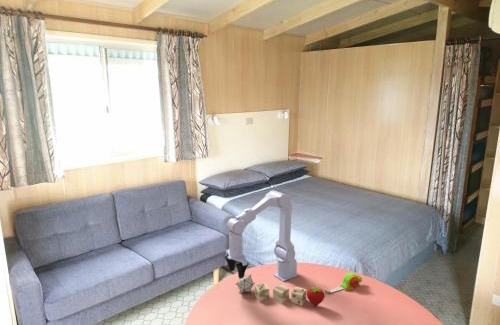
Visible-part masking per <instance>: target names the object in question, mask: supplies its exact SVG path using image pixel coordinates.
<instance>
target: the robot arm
mask: <svg viewBox="0 0 500 325" xmlns="http://www.w3.org/2000/svg"><path fill="white" fill-rule="evenodd" d="M292 206H293V205H292V202H291V196H289V195H288V194H287V193H282V192H280V191H277V190H275V189H272V190H269V192H267V193H266V194H265V195H264V197H263V198H262V199H261V200H260V201H259V202H258V203H256V204H255V205H254V206H253V207H251V208H245V209H243V211H242V212H241V213H240V214H238V215H236V216H235V217H234V218H232V217H231V218H230V219H229V220H228V221H227V223H226V225H225V226H226V229H227V231H228V237H229V238H228V241H229V243H228V244H229V245H228V246H229V247H228V249H225V254H226V255H225V256H224V259H225V261H226V263H227V265H228V270H229V272H230V273H231V272H234V271H235V270H236V269H237V274H238V278H240V279H241V278H244V275H245V274H246V271H247V270H246V269H247V268H248V267H249V262H248V260H247V259H246V257H245V255H244V252H243V251H244V250H243V232H245V229H246V228H247V226H249V224H251V223H252V222H253V221H255V220H256V218H257V215H258V214H261V212H263V211H264V210H266V209H267V208H270V207H274V208H278V209H279V226H278V227H279V231H278V240H277V241H275V246H274V249H273V253H274V255H275V256H276V259H277V260H276V264H277V267H276V272H275V273H273V276H275V277H276V278H278V279H280V281H282V282H285V281H288V280H290V279H293V278H295V277H298V275H299V274H298V273H297V271H298V270H297V269H298V268H297V266H298V265H297V263H298V262H297V259H296V258H295V257H296V252H295V245H294V244H293V243H292V241H291V235H292V234H291V233H292V230H291V229H292ZM236 261H237V262H238V263H236Z"/></svg>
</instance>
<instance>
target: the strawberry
mask: <svg viewBox="0 0 500 325" xmlns="http://www.w3.org/2000/svg"><path fill="white" fill-rule="evenodd" d="M325 297H326V296H325V291H323V290H322V289H321V288H319V286H318V287H316V285H314V286H313V287H309V289H308V290H306V299H307V300H308V302H310V303H311V305H312V306H313V307H317V306H319V305H320V304H321V303H323V301H324V299H325Z"/></svg>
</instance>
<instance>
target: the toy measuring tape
mask: <svg viewBox="0 0 500 325" xmlns="http://www.w3.org/2000/svg"><path fill="white" fill-rule="evenodd" d="M362 282H363V278H362V277H361V276H360V275H357V274H355V273H354V272H347V273H346V274H345V275H344V276H343V279H342V282H341V283H340V284H339V285H340V286H337V287H336V288H333V289H330V290H329V289H328V288H325V292H326V293H328V294H331V293H332V294H333V293H335V292H338V291H342V290H344V291H348V290H352V289H355V288H357V287H360V283H362Z"/></svg>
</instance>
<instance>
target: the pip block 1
mask: <svg viewBox="0 0 500 325" xmlns="http://www.w3.org/2000/svg"><path fill="white" fill-rule="evenodd" d="M254 296H255V297H256V300H257V301H258V302H262V301H267V300H270V288H269V286H268V285H267V284H266V282H263V283H259V284H254Z"/></svg>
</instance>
